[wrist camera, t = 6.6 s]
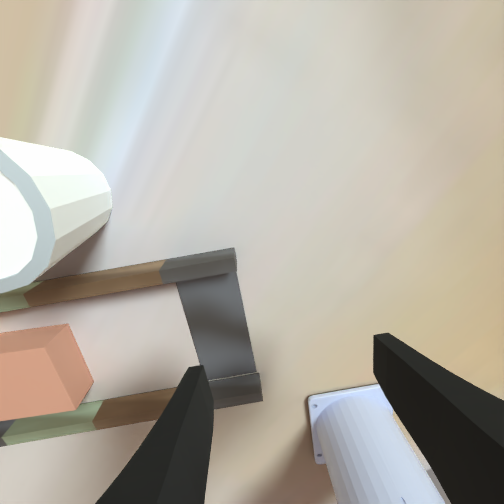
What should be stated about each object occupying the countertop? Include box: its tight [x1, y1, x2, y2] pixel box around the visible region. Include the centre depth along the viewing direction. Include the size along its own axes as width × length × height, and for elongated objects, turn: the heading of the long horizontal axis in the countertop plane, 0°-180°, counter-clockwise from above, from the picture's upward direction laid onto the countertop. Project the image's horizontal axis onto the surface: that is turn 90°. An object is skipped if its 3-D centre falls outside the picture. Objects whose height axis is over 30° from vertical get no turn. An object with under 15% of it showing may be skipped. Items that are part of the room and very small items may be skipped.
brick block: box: [0, 324, 94, 421], centre depth 20 cm, size 6×7×3 cm
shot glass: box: [0, 137, 113, 293], centre depth 14 cm, size 7×7×7 cm
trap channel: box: [0, 248, 263, 447], centre depth 20 cm, size 13×29×2 cm, turn 99°
